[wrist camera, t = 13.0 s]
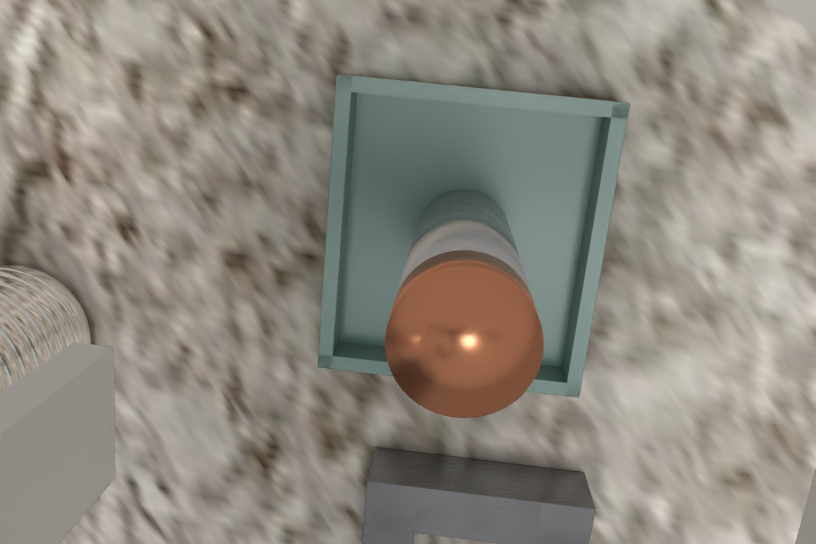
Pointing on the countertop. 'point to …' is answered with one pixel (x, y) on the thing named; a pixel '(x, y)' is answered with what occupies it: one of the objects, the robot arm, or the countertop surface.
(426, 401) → the pin
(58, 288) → the water bottle
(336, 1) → the countertop surface
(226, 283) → the countertop surface
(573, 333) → the tray
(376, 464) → the block
